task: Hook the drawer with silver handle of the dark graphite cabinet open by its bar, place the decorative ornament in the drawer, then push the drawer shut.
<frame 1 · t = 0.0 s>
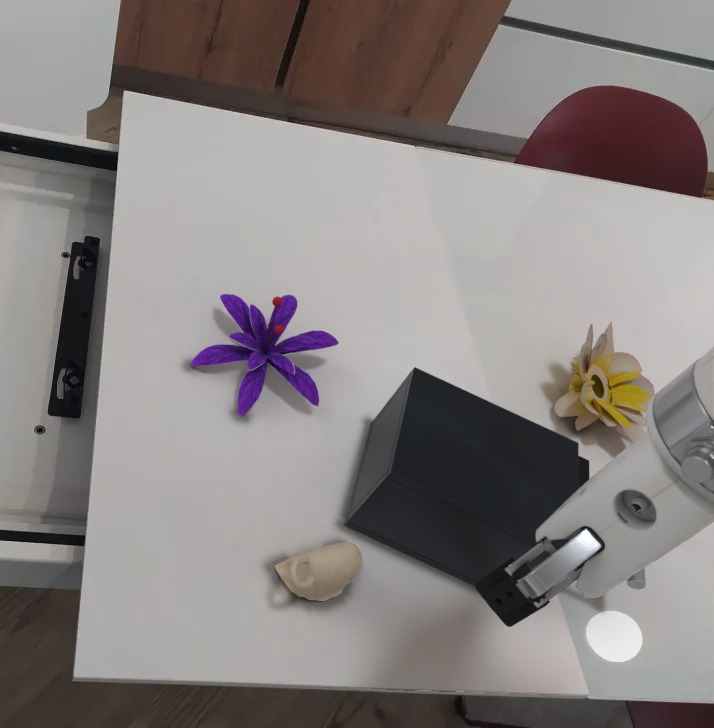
hand: (534, 568, 50), 16 cm above the table, tool pointing down, fingers open, 9 cm apart
decorative flower: (260, 364, 76), on the table
drawer with silver handle: (521, 510, 67), point 5 cm above the table, slide at 0.5 cm
cabinet: (436, 507, 71), on the table
decorative ornament: (309, 577, 63), on the table
decorative flower 2: (586, 410, 86), on the table
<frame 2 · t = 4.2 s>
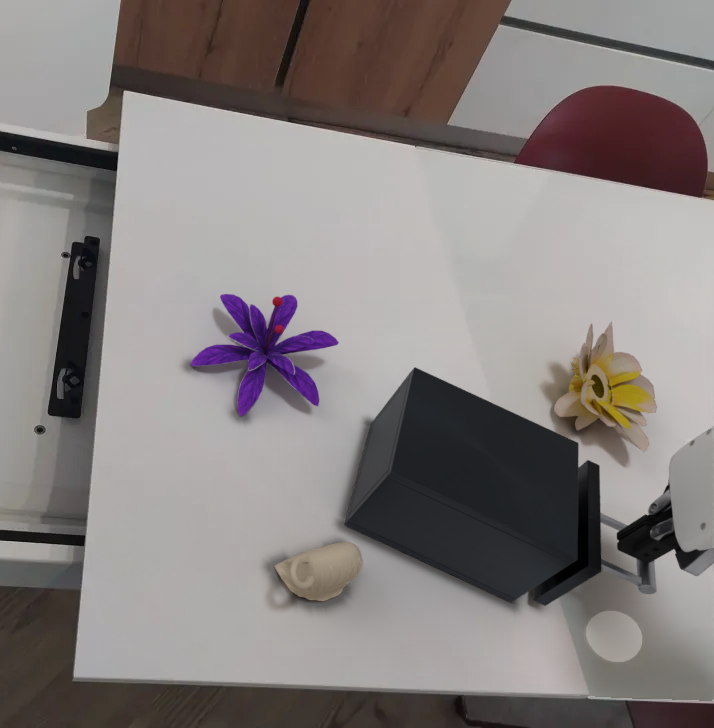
hand: (631, 548, 66), 6 cm above the table, tool pointing down, fingers closed
drawer with silver handle: (531, 515, 67), point 5 cm above the table, slide at 1.5 cm, touching gripper
everything else where it was.
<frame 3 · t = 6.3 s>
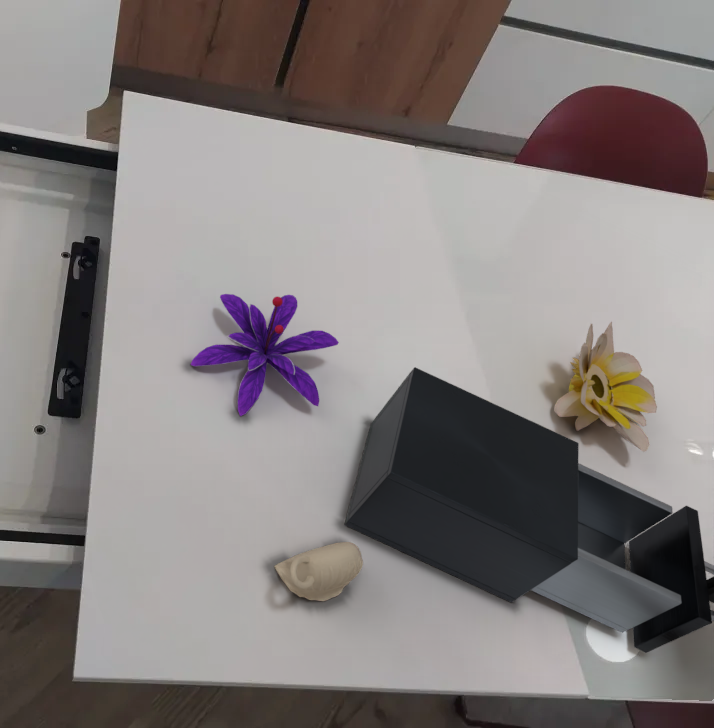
drawer with silver handle: (630, 561, 67), point 5 cm above the table, slide at 11.5 cm, touching gripper
everything else where it was.
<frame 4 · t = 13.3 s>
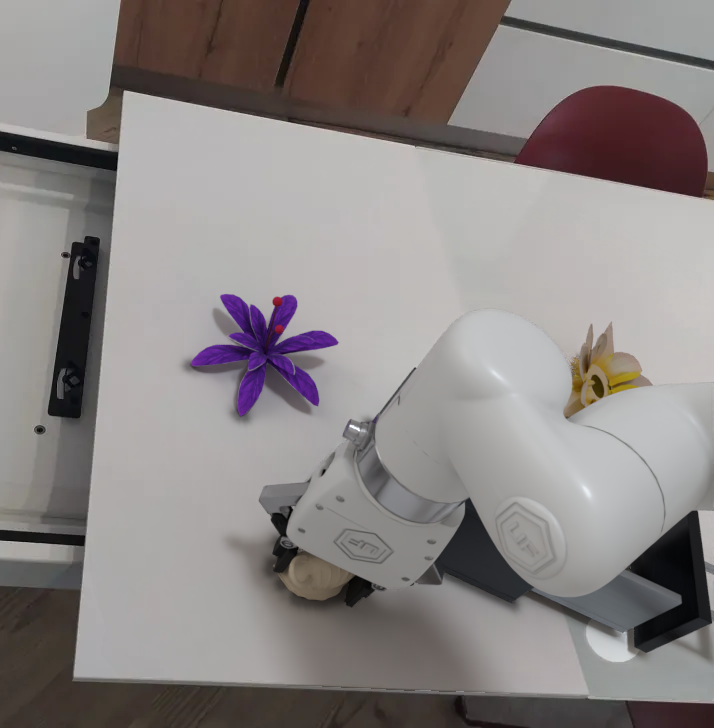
hand: (316, 573, 62), 1 cm above the table, tool pointing down, fingers closed on decorative ornament, 5 cm apart
drawer with silver handle: (631, 561, 67), point 5 cm above the table, slide at 11.5 cm
decorative ornament: (308, 577, 63), on the table, touching gripper
everything else where it was.
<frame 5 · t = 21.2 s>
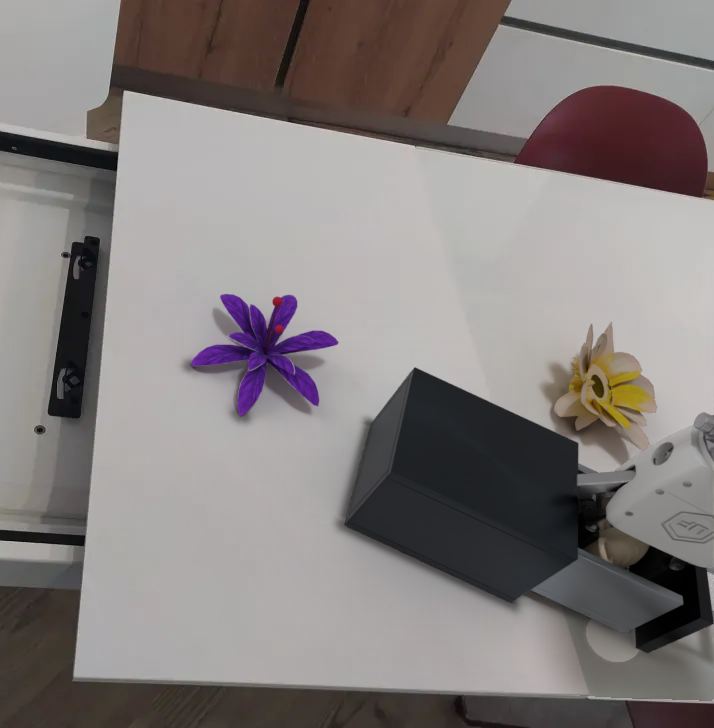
hand: (601, 555, 67), 4 cm above the table, tool pointing down, fingers closed on decorative ornament, 5 cm apart
decorative ornament: (589, 558, 68), point 3 cm above the table, touching gripper
everything else where it was.
when the fingers open (5 cm above the table, at t = 29.7 s): decorative ornament drops 2 cm, resting on drawer with silver handle.
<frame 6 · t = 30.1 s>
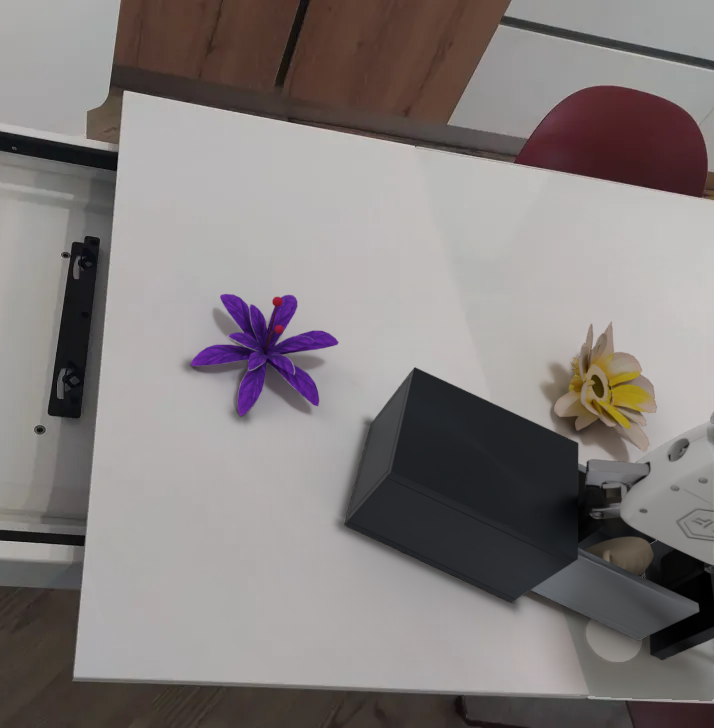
hand: (618, 551, 66), 6 cm above the table, tool pointing down, fingers open, 8 cm apart
drawer with silver handle: (646, 569, 67), point 5 cm above the table, slide at 13.1 cm, touching decorative ornament, gripper
decorative ornament: (593, 569, 69), point 2 cm above the table, touching drawer with silver handle
everything else where it was.
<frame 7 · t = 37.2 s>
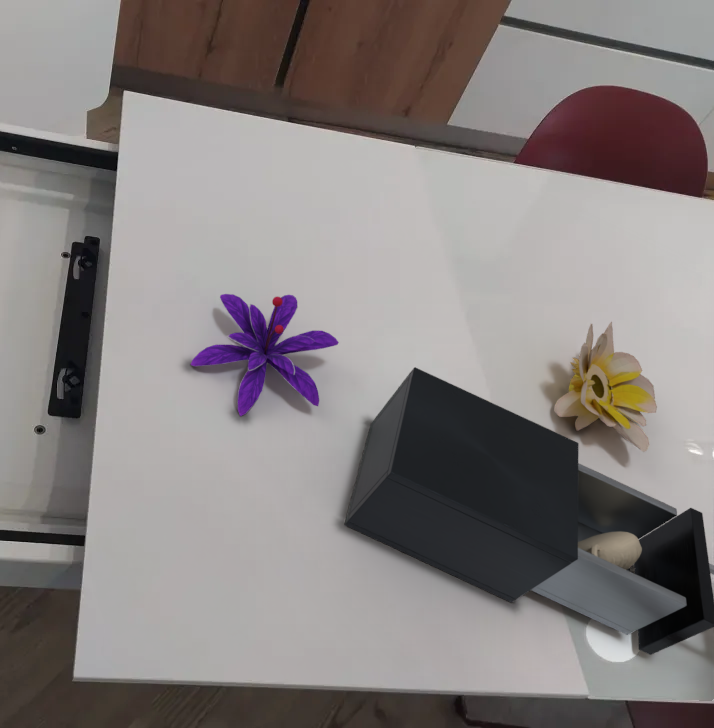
drawer with silver handle: (635, 563, 67), point 5 cm above the table, slide at 11.9 cm, touching decorative ornament, gripper
decorative ornament: (582, 564, 69), point 2 cm above the table, touching drawer with silver handle
everything else where it was.
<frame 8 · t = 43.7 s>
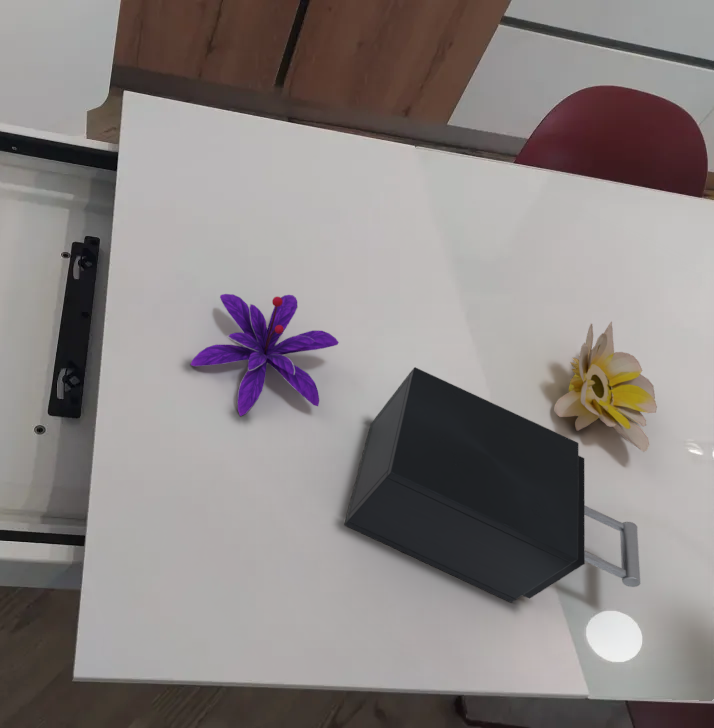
drawer with silver handle: (515, 508, 67), point 5 cm above the table, slide at 0.0 cm, touching decorative ornament
decorative ornament: (466, 510, 69), point 2 cm above the table, touching drawer with silver handle
everything else where it was.
at the end: decorative ornament inside the target area in the cabinet (2.2 cm from its centre), point 1.8 cm above the cabinet's base; drawer with silver handle slide at 0.0 cm; decorative flower 2 moved 0.2 cm from its start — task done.
